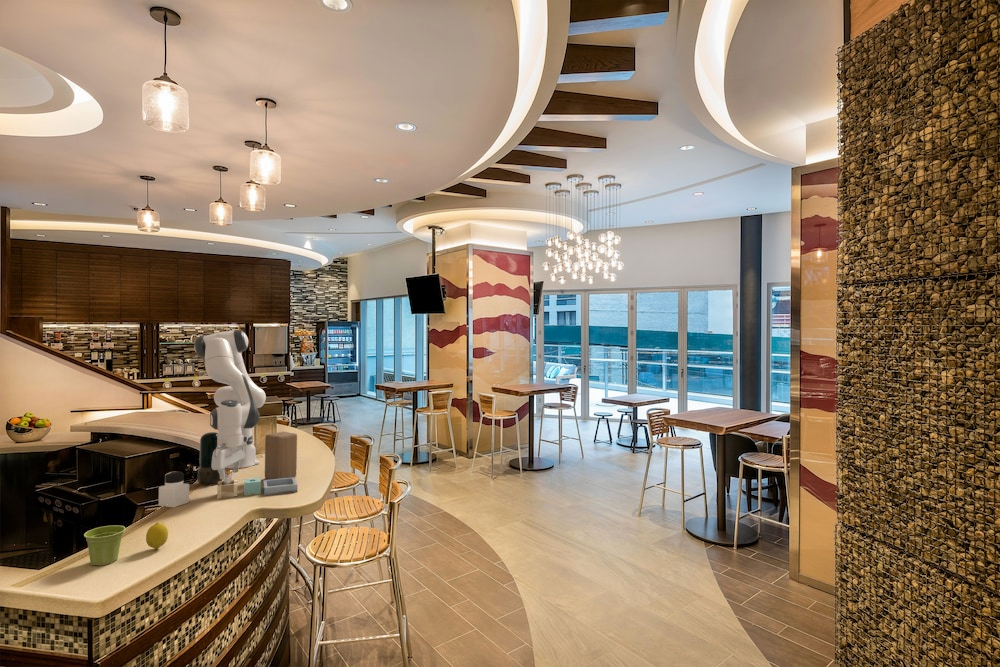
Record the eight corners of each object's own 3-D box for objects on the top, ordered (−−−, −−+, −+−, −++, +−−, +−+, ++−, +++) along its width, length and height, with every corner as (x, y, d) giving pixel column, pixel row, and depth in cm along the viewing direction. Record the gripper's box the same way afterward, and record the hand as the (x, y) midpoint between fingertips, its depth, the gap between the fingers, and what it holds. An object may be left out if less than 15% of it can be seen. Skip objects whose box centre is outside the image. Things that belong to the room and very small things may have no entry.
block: (263, 478, 233) (264, 434, 233) (282, 473, 242) (283, 431, 242) (278, 482, 228) (279, 436, 228) (297, 477, 237) (298, 433, 237)
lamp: (227, 482, 227) (228, 431, 227) (206, 487, 219) (207, 435, 219) (213, 478, 232) (214, 429, 232) (192, 484, 223) (193, 433, 223)
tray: (263, 487, 220) (263, 480, 220) (294, 484, 226) (294, 477, 226) (264, 495, 209) (264, 488, 209) (297, 491, 215) (297, 484, 215)
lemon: (170, 549, 156) (170, 522, 156) (148, 554, 152) (149, 527, 152) (164, 544, 160) (165, 518, 160) (143, 549, 156) (143, 522, 156)
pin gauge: (223, 494, 209) (224, 470, 209) (230, 493, 211) (231, 469, 211) (224, 496, 207) (224, 471, 207) (231, 495, 208) (232, 470, 208)
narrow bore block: (244, 491, 214) (244, 479, 214) (260, 489, 217) (260, 477, 217) (244, 495, 209) (244, 483, 209) (260, 493, 211) (260, 481, 211)
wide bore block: (218, 493, 210) (218, 481, 210) (237, 491, 213) (237, 479, 213) (217, 498, 204) (217, 486, 204) (237, 496, 207) (237, 484, 207)
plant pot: (120, 552, 154) (120, 522, 154) (128, 561, 147) (129, 530, 147) (80, 561, 147) (80, 531, 147) (87, 572, 140) (88, 540, 140)
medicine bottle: (189, 502, 199) (190, 471, 200) (173, 508, 193) (173, 475, 193) (174, 500, 201) (175, 469, 201) (158, 506, 195) (158, 474, 195)
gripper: (223, 447, 199) (222, 483, 199) (249, 436, 219) (249, 468, 219) (207, 446, 199) (206, 482, 199) (235, 435, 219) (234, 468, 219)
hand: (229, 475), depth 209 cm, fingers open, 8 cm apart
